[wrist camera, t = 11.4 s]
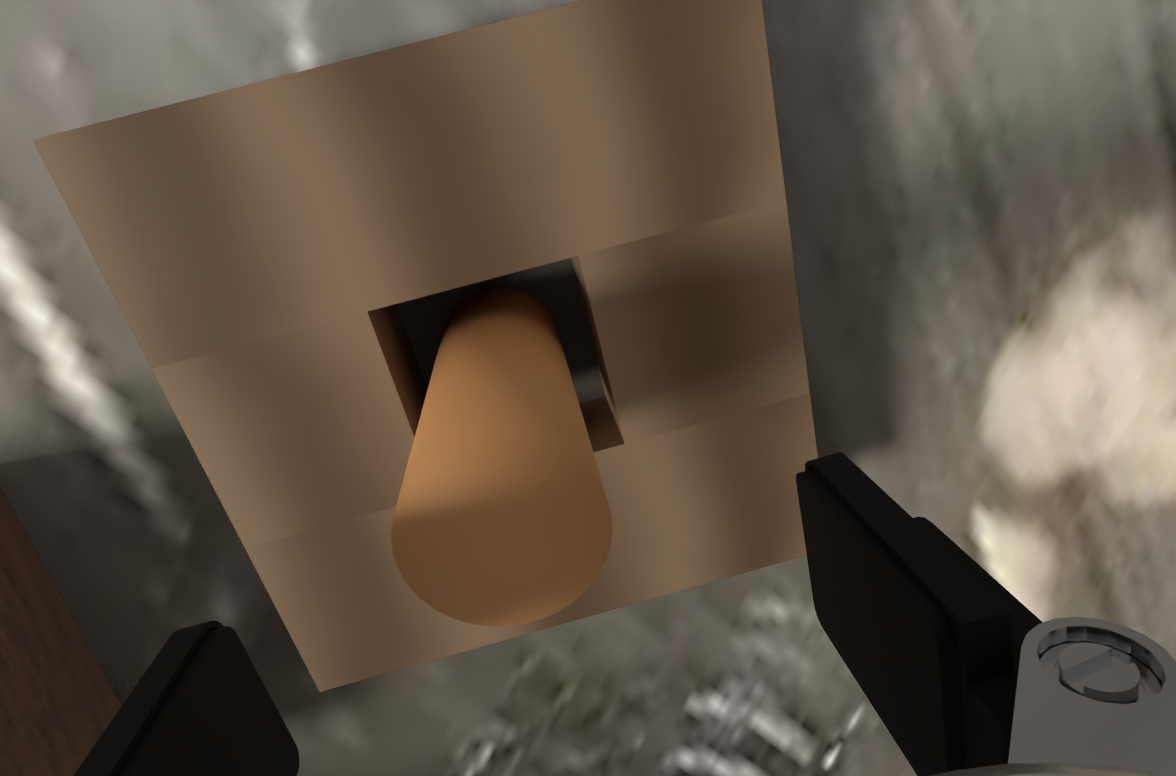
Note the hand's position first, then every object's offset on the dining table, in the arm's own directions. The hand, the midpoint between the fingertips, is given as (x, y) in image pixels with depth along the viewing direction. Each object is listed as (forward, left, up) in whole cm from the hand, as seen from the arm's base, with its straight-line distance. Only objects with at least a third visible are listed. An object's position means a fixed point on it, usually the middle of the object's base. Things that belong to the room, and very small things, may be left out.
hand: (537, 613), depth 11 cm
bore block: (0, -1, -15) cm, 15 cm away
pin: (0, 0, -14) cm, 14 cm away
